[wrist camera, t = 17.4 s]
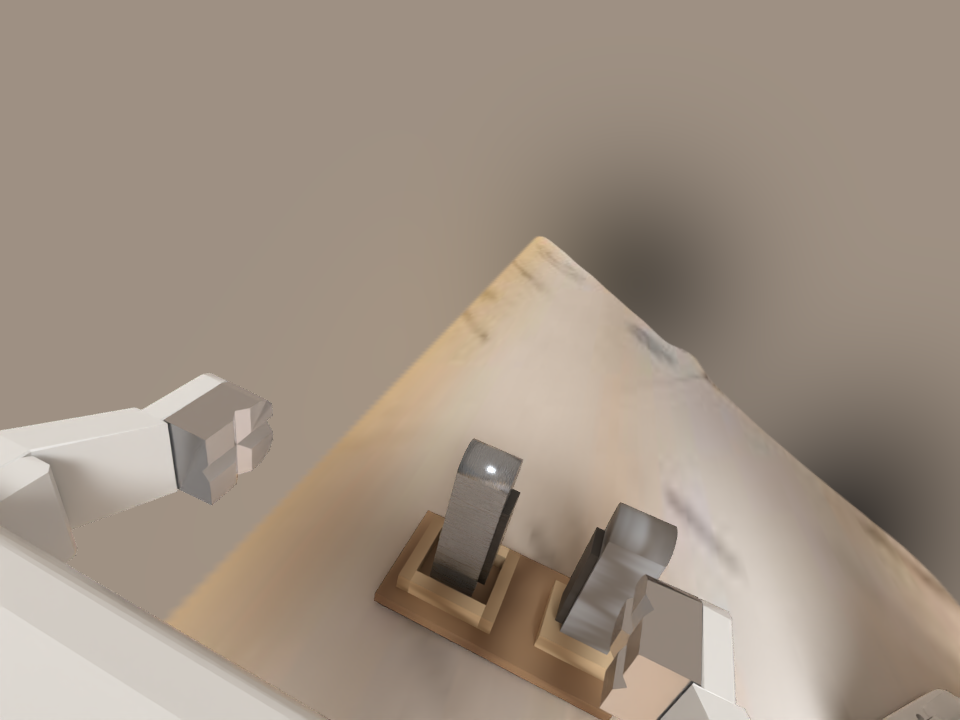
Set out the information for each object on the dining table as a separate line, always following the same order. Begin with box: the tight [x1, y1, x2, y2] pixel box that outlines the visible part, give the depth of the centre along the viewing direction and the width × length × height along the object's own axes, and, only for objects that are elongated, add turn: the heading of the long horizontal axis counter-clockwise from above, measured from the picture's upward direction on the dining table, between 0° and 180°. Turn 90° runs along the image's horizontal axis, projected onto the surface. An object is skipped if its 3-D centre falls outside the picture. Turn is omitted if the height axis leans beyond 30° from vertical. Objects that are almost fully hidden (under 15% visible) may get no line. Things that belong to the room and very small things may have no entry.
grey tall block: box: [429, 439, 523, 598], centre depth 38 cm, size 4×3×14 cm
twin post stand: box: [374, 503, 677, 720], centre depth 38 cm, size 18×9×14 cm, turn 68°
